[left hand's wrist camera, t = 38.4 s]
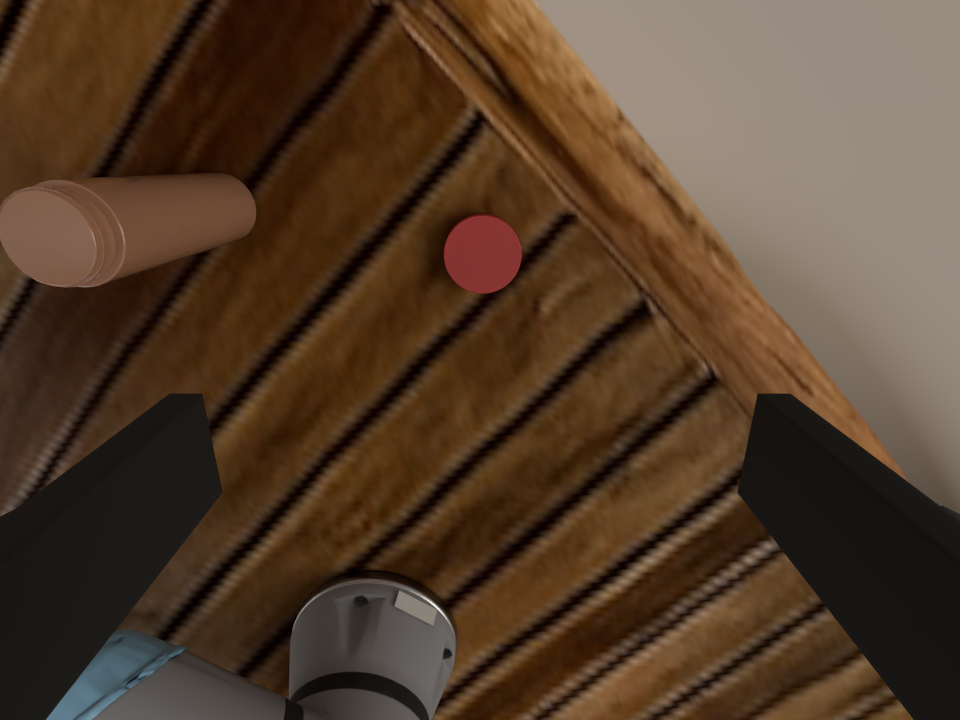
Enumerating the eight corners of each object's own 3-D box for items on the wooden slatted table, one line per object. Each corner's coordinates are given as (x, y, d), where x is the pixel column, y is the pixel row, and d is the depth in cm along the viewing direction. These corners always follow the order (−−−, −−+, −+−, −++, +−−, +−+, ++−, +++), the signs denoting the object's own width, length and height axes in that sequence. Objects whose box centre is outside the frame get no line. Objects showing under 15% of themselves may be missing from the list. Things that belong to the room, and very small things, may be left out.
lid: (515, 207, 36) (516, 209, 35) (523, 283, 38) (525, 287, 37) (439, 219, 37) (437, 221, 35) (451, 293, 39) (450, 298, 37)
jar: (270, 207, 36) (126, 239, 22) (231, 255, 38) (69, 316, 23) (214, 157, 35) (21, 154, 20) (176, 208, 36) (-32, 240, 22)
